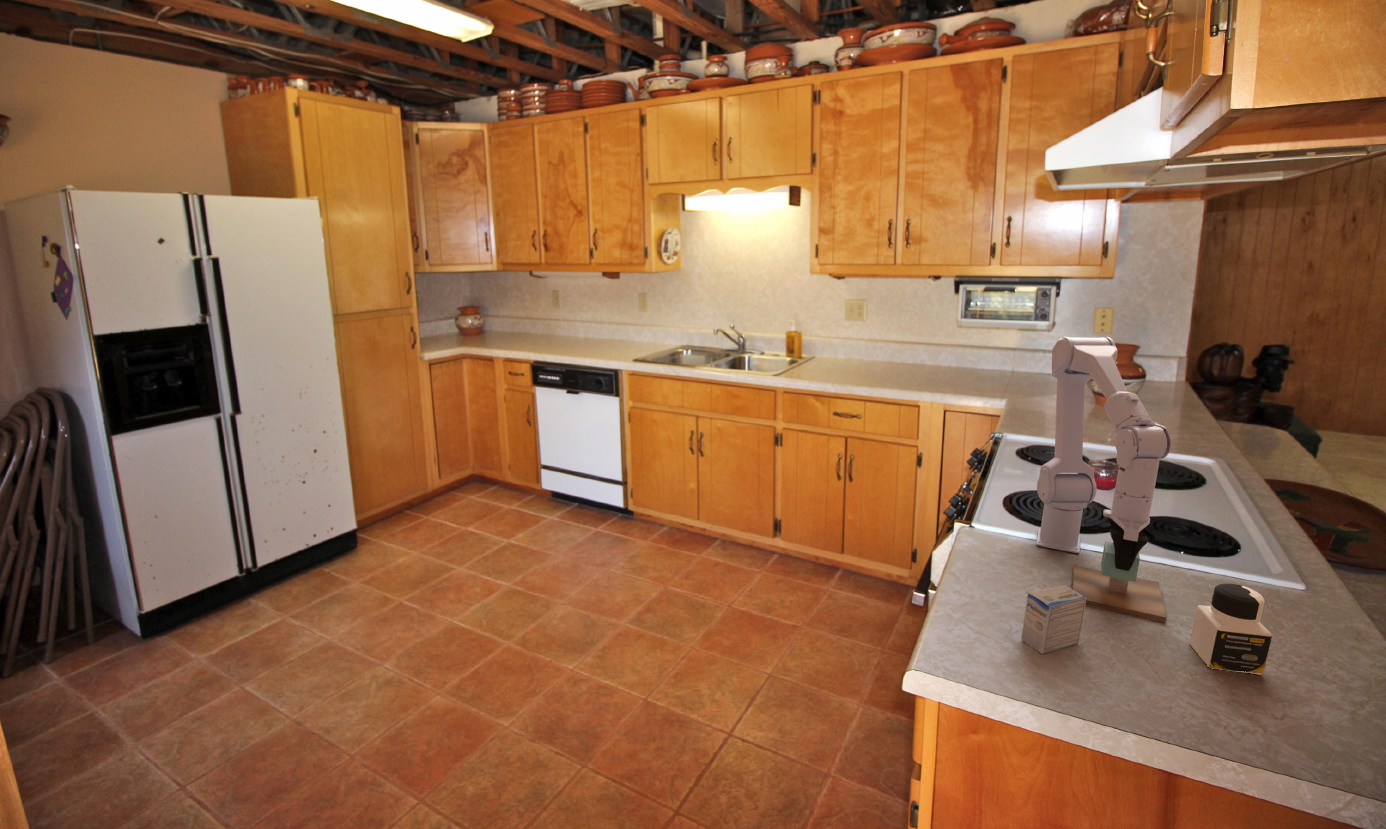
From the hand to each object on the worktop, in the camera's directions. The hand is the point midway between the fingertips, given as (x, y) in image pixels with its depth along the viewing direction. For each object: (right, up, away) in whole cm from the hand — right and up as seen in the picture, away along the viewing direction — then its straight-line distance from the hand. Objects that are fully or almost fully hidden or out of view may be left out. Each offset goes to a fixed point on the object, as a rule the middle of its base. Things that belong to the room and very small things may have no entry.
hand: (1121, 562), depth 125 cm
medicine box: (-20, -10, -13) cm, 26 cm away
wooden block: (0, -6, +2) cm, 6 cm away
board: (0, -6, +2) cm, 6 cm away
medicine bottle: (+5, -12, -18) cm, 22 cm away
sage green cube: (0, -2, +1) cm, 2 cm away
